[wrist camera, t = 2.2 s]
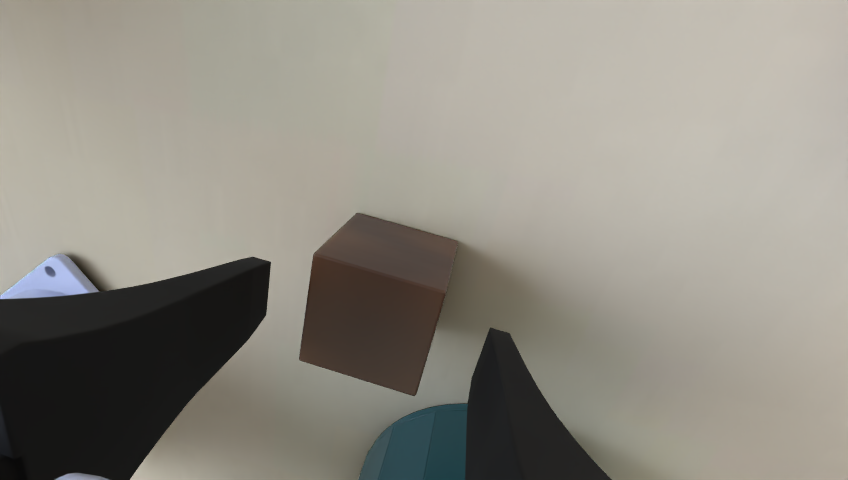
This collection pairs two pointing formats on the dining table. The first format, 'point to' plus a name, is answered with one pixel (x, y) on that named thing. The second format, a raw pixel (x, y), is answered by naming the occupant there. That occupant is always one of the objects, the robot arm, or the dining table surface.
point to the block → (376, 301)
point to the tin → (421, 447)
